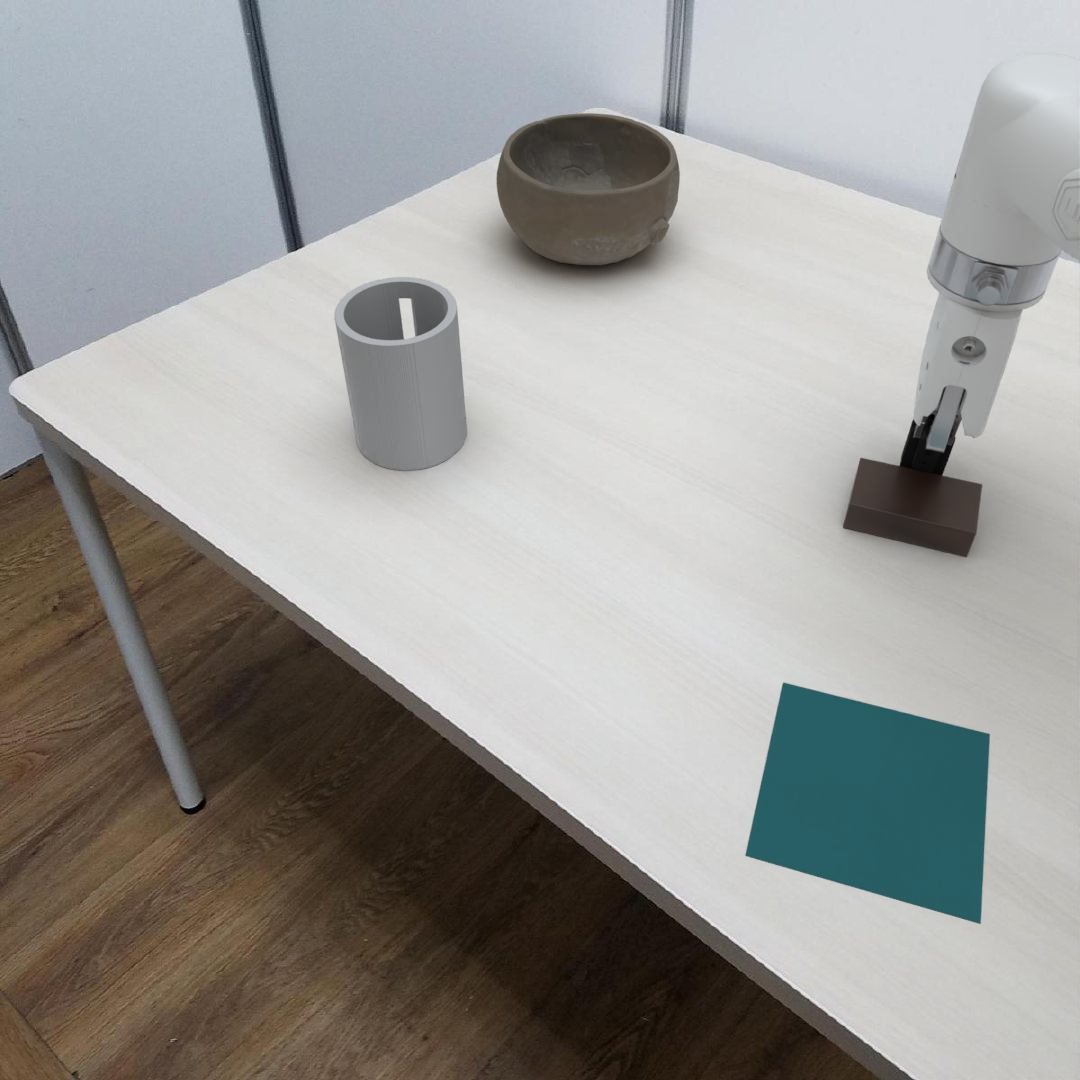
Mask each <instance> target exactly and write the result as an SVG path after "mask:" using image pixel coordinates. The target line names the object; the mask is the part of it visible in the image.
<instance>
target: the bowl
mask: <svg viewBox="0 0 1080 1080" xmlns="http://www.w3.org/2000/svg"><path fill="white" fill-rule="evenodd" d="M680 179H681V171H680V165H679V159H678V155H677V152H676V149H675V146H674V144H673V143H672V141H670V139H669V138H667V137H666V136H665V135H664V134H663V133H662V132H660V131H659V130H658V129H655V128H653V127H651V126H650V125H647V124H645V123H643V122H640V121H636V120H634V119H632V118H628V117H624V116H621V115H614V114H607V113H591V112H590V113H589V112H585V113H584V112H583V113H570V114H561V115H553V116H551V117H547V118H543V119H541V120H535V121H533V122H529V123H527V124H525V125H523V126H521V127H520V128H518V129H516V130H515V131H514V132H513V133H511V134H510V135H509V137H508V139H507V140H506V142H505V144H504V146H503V148H502V151H501V154H500V157H499V160H498V166H497V169H496V191H497V199H498V202H499V205H500V208H501V211H502V214H503V216H504V218H505V220H506V222H507V223H508V225H509V227H510V228H511V229H512V231H513V233H515V235H516V236H517V237H518V238H519V240H521V241H522V242H523V244H525V245H526V246H527V247H528V248H529V249H531V250H532V251H533V252H535V253H536V254H537V255H540V256H541V257H544V258H545V259H548V260H551V261H553V262H557V263H561V264H569V265H577V266H604V265H609V264H613V263H618V262H621V261H623V260H625V259H630V258H632V257H634V256H635V255H637V254H638V253H640V252H642V251H643V250H644V249H645V248H647V247H648V246H649V245H650V244H652V245H655V244H659V243H661V242H662V240H663V239H664V238H665V237H666V235H667V233H668V231H669V228H670V223H669V221H670V220H671V218H672V216H673V215H674V212H675V209H676V207H677V204H678V202H679V200H678V199H679V190H680V182H681V181H680Z"/></svg>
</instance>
